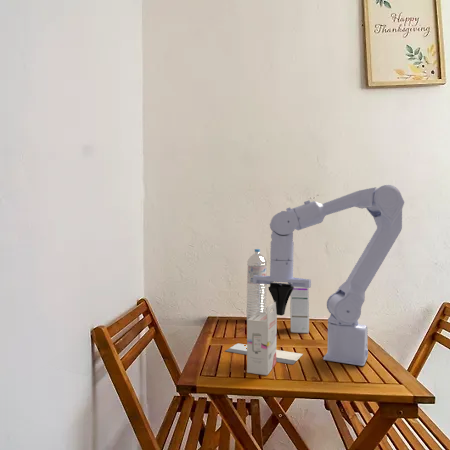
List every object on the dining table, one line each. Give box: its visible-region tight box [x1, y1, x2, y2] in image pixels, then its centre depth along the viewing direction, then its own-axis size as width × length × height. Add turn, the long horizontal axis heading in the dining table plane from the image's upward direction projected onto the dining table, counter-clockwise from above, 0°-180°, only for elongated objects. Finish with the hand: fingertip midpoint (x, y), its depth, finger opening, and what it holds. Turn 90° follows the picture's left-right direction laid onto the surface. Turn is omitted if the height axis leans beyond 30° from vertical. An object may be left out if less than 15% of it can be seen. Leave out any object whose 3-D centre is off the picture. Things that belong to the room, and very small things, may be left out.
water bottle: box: [246, 248, 268, 321], centre depth 138 cm, size 7×7×25 cm
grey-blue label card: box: [224, 342, 247, 356], centre depth 104 cm, size 8×8×1 cm
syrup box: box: [289, 286, 310, 334], centre depth 125 cm, size 6×6×14 cm
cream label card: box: [276, 349, 304, 366], centre depth 98 cm, size 9×9×1 cm
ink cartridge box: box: [246, 301, 278, 376], centre depth 90 cm, size 9×5×15 cm, turn 159°
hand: (280, 314), depth 99 cm, fingers closed
